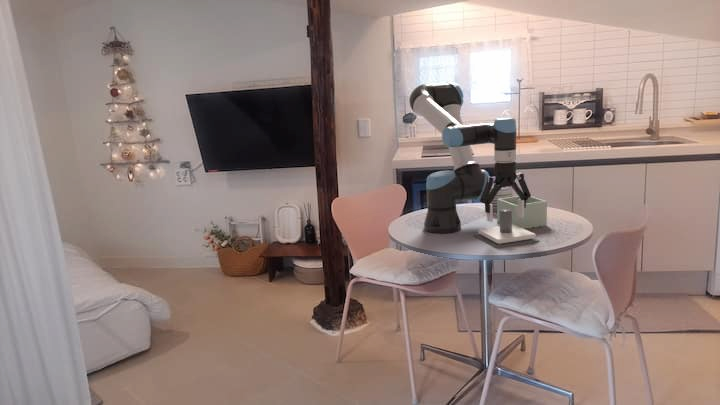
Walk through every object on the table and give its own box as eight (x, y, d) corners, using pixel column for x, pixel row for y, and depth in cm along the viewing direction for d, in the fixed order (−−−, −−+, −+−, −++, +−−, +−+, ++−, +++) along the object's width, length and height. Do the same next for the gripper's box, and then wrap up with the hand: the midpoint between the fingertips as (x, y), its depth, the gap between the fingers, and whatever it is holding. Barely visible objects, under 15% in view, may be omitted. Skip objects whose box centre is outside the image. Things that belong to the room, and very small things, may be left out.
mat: (496, 248, 172) (496, 246, 172) (474, 235, 188) (474, 234, 188) (539, 241, 176) (539, 240, 176) (513, 230, 192) (513, 228, 192)
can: (500, 206, 231) (500, 181, 229) (518, 210, 221) (518, 184, 219) (481, 210, 226) (481, 185, 224) (499, 215, 216) (498, 188, 214)
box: (515, 230, 192) (515, 205, 190) (497, 222, 205) (497, 198, 203) (546, 225, 195) (547, 201, 193) (526, 217, 208) (526, 195, 206)
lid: (498, 245, 173) (497, 217, 171) (478, 235, 188) (477, 209, 185) (535, 240, 177) (535, 212, 175) (512, 229, 191) (512, 204, 189)
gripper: (479, 166, 170) (480, 225, 174) (541, 159, 175) (540, 216, 180) (469, 163, 177) (470, 220, 181) (529, 156, 182) (528, 212, 187)
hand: (505, 219), depth 181 cm, fingers open, 12 cm apart
